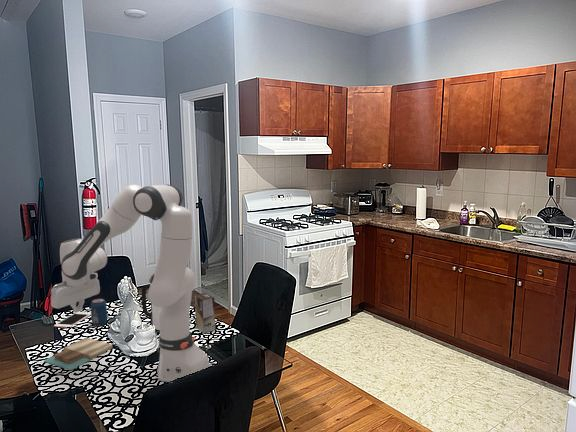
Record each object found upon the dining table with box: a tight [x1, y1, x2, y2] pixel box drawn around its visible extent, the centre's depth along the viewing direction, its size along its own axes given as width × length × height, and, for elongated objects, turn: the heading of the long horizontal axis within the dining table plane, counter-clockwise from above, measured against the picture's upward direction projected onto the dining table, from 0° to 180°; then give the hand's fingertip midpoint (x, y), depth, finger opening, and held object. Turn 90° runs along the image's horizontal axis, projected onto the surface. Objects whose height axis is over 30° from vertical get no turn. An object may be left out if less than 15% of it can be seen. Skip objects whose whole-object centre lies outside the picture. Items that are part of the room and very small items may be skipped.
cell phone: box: [53, 311, 91, 328], centre depth 212 cm, size 9×18×1 cm, turn 171°
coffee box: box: [194, 292, 216, 334], centre depth 200 cm, size 9×6×16 cm
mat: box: [43, 355, 91, 371], centre depth 170 cm, size 16×9×1 cm, turn 64°
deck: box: [63, 337, 113, 361], centre depth 179 cm, size 16×11×2 cm
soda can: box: [90, 298, 108, 327], centre depth 206 cm, size 7×7×12 cm
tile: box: [53, 349, 83, 364], centre depth 171 cm, size 9×6×2 cm, turn 64°
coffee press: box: [141, 273, 162, 331], centre depth 199 cm, size 17×16×30 cm
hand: (78, 311), depth 172 cm, fingers closed
